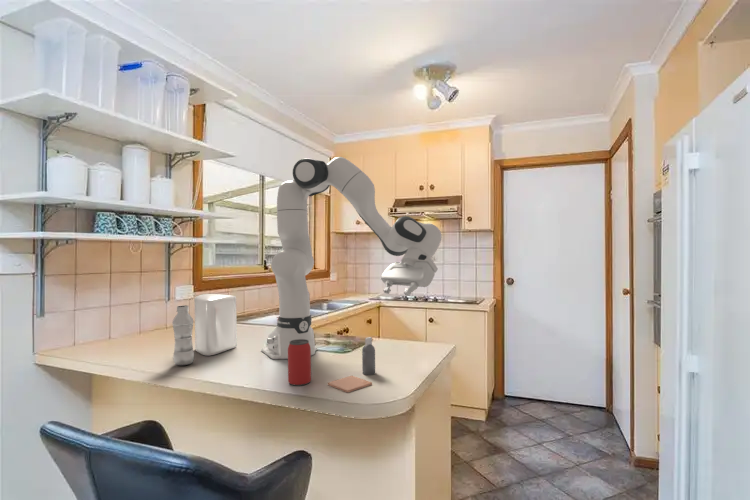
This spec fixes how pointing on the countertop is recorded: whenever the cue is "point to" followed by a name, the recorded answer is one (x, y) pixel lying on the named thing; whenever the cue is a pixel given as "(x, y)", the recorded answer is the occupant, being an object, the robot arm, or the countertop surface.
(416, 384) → the countertop surface
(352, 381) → the tile
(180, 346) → the plastic bottle
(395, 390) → the countertop surface
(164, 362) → the countertop surface
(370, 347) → the grey pump bottle
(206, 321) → the white rounded block
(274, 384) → the countertop surface
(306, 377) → the beer can
